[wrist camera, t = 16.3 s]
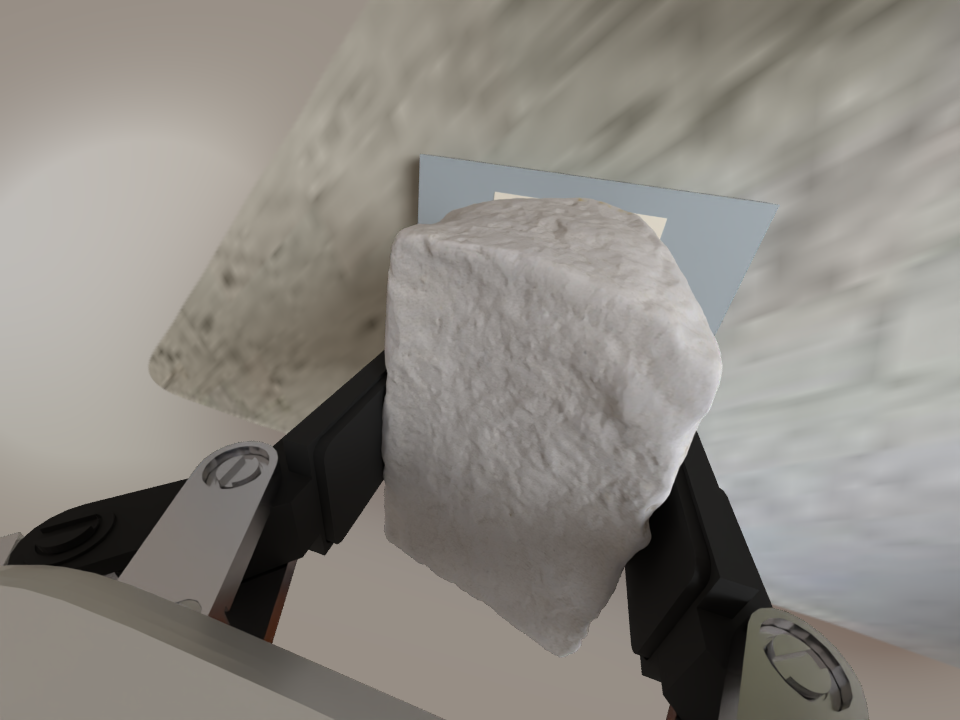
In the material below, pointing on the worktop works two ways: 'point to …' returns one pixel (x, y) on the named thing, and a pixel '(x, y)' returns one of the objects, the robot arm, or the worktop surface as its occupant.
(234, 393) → the worktop surface
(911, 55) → the worktop surface
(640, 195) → the board
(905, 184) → the worktop surface
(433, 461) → the rough stone chunk
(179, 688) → the robot arm
